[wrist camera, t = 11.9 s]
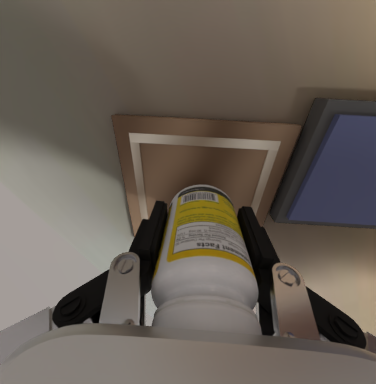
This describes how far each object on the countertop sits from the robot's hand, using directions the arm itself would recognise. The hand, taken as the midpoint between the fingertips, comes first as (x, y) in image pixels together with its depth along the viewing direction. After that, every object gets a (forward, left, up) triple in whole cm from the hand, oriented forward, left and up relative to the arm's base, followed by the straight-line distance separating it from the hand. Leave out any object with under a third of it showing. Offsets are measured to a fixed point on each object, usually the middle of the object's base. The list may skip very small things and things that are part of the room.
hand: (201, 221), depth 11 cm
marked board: (0, 0, -3) cm, 3 cm away
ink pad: (-11, -3, -3) cm, 12 cm away
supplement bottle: (0, 0, -1) cm, 1 cm away
